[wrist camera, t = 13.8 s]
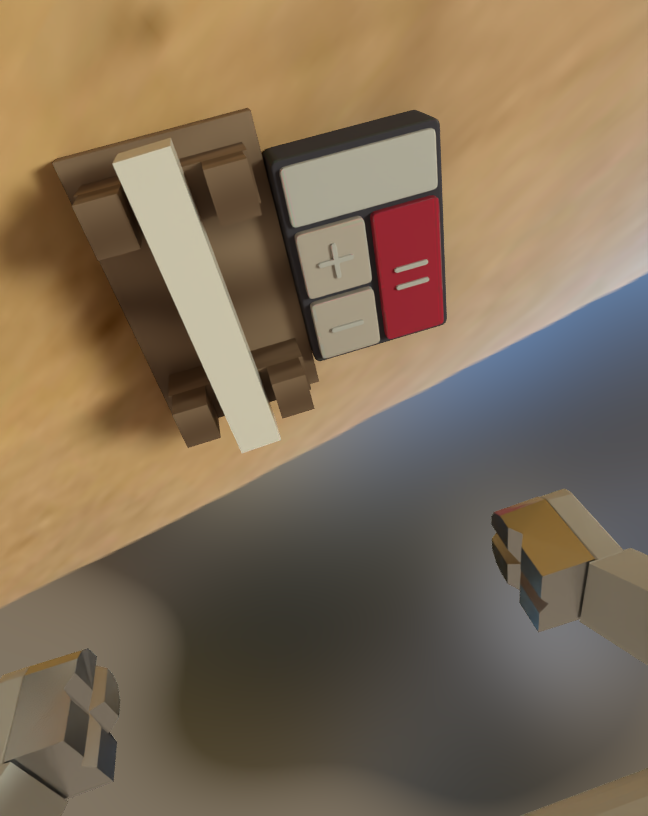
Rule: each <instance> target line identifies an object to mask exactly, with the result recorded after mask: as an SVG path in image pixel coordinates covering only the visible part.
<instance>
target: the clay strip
mask: <svg viewBox="0 0 648 816" xmlns="http://www.w3.org/2000/svg"><path fill="white" fill-rule="evenodd" d="M112 164H113V166H114V169H115V171H116V173H117V175H118V178H119V180H120V182H121V184H122V187H123V189H124V191H125V193H126V195H127V198H128V200H129V202H130V204H131V207H132V209H133V211H134V213H135V216H136V218H137V220H138V222H139V225H140V227H141V229H142V231H143V233H144V236H145V238H146V240H147V242H148V245H149V247H150V249H151V251H152V254H153V256H154V258H155V260H156V263H157V265H158V267H159V269H160V271H161V274H162V276H163V278H164V280H165V283H166V285H167V287H168V289H169V292H170V294H171V296H172V298H173V301H174V303H175V305H176V307H177V309H178V312H179V314H180V316H181V318H182V321H183V323H184V325H185V327H186V330H187V332H188V334H189V336H190V339H191V341H192V343H193V345H194V347H195V350H196V352H197V354H198V356H199V359H200V361H201V363H202V365H203V368H204V370H205V372H206V374H207V377H208V379H209V381H210V383H211V386H212V388H213V390H214V392H215V394H216V397H217V399H218V401H219V403H220V406H221V408H222V410H223V412H224V415H225V417H226V419H227V421H228V424H229V426H230V428H231V430H232V432H233V435H234V437H235V439H236V441H237V444H238V446H239V448H240V450H241V453H244V452H247V451H250V450H253V449H256V448H259V447H262V446H265V445H268V444H271V443H274V442H277V441H280V440H281V437H280V433H279V430H278V426H277V422H276V419H275V415H274V413H273V410H272V407H271V405H270V402H269V399H268V397H267V394H266V391H265V389H264V386H263V383H262V381H261V378H260V375H259V373H258V370H257V367H256V365H255V362H254V359H253V357H252V354H251V351H250V349H249V346H248V343H247V340H246V338H245V335H244V332H243V330H242V327H241V324H240V322H239V319H238V316H237V314H236V311H235V308H234V306H233V303H232V300H231V298H230V295H229V292H228V290H227V287H226V284H225V282H224V279H223V276H222V274H221V271H220V268H219V265H218V263H217V260H216V257H215V255H214V252H213V249H212V247H211V244H210V241H209V239H208V236H207V233H206V231H205V228H204V225H203V223H202V220H201V217H200V215H199V212H198V209H197V207H196V204H195V201H194V199H193V196H192V193H191V190H190V188H189V185H188V182H187V180H186V177H185V174H184V172H183V169H182V166H181V164H180V161H179V158H178V156H177V153H176V150H175V148H174V145H173V142H172V140H171V138H168V139H164V140H161V141H158V142H155V143H151V144H148V145H145V146H141V147H138V148H135V149H132V150H128V151H125V152H122V153H118V154H117V156H116V158H115V160H114V161H113V163H112Z"/></svg>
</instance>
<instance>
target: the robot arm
mask: <svg viewBox="0 0 648 816" xmlns="http://www.w3.org/2000/svg"><path fill="white" fill-rule="evenodd" d="M491 525H492V526H493V528H494V530H495V531H496V534H495V535H494V537H493V538H492V551H493V554H494V557H495V560H496V563H497V565H498V567H499V570H500V572H501V574H502V575H503V577H504V579H505V580H506V582H507V583H508V584H509V585H511V586H513V587H515V588H517V589H519V590H520V604H521V606H522V608H523V609H524V611H525V612H526V614H527V615H528V617H529V619H530V620H531V622H532V623H533V625H534V627H535V628H536V630H537V631H538V632H541V631H544V630H547V629H550V628H553V627H557V626H560V625H563V624H566V623H569V622H572V621H576V620H579V619H580V622H581V623H583V624H584V625H586V626H588V627H589V628H590V629H592V630H594V631H595V632H597V633H598V634H600V635H601V636H603V637H604V638H606V639H608V640H609V641H611V642H612V643H614V644H615V645H617V646H618V647H620V648H622V649H623V650H625V651H626V652H628V653H629V654H631V655H632V656H634V657H635V658H637V659H638V660H640V661H642V662H643V663H645V664H646V665H648V555H646V554H643V553H641V552H639V551H636V550H634V549H631V548H630V549H626V550H623V549H622V548H621V547H620V546H619V545H618V544H617V543H616V542H615V540H614V539H613V538H612V537H611V536H610V535H609V534H608V533H607V532H606V530H605V529H603V527H602V526H601V525H600V524H599V523H598V522H597V521H596V519H595V518H594V517H593V516H592V515H591V514H590V513H589V512H588V511H587V510H586V508H585V507H584V506H582V504H581V503H580V502H579V501H578V500H577V498H576V497H575V496H574V495H573V494H572V493H571V492H570V491H568V490H566V489H561V490H558V491H555V492H552V493H550V494H547V495H544V496H541V497H536V498H533V499H530V500H527V501H524V502H521V503H518V504H516V505H513V506H510V507H507V508H504V509H501V510H499V511H496V512H494V513H493V514H492V516H491ZM96 660H97V656H96V655H95V654H94V653H93V652H92V651H91V650H89V649H88V648H87V649H84V650H81V651H78V652H74V653H71V654H68V655H65V656H62V657H58V658H55V659H52V660H49V661H46V662H42V663H39V664H36V665H32V666H29V667H26V668H23V669H20V670H17V671H14V672H11V673H8V674H5V675H3V676H2V677H1V679H0V816H61V815H62V814H63V812H64V810H65V808H66V806H67V804H68V801H67V799H69V798H72V797H74V796H77V795H80V794H82V793H85V792H88V791H90V790H93V789H96V788H98V787H101V786H103V785H106V784H109V783H111V782H114V771H115V760H116V748H117V741H116V740H115V739H114V737H113V736H112V734H111V733H110V731H111V730H112V728H113V726H114V725H115V723H116V721H117V720H118V718H119V712H120V696H119V689H118V684H117V682H116V680H115V677H114V675H113V674H112V673H111V672H110V670H109V669H108V668H104V667H100V666H96ZM522 816H648V768H646V769H644V770H641V771H638V772H636V773H633V774H630V775H628V776H625V777H623V778H620V779H617V780H615V781H612V782H609V783H606V784H604V785H601V786H598V787H596V788H593V789H590V790H588V791H585V792H582V793H580V794H578V795H574V796H572V797H569V798H566V799H564V800H561V801H559V802H556V803H553V804H550V805H548V806H545V807H543V808H540V809H538V810H535V811H532V812H529V813H527V814H524V815H522Z"/></svg>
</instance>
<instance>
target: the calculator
mask: <svg viewBox="0 0 648 816" xmlns="http://www.w3.org/2000/svg"><path fill="white" fill-rule="evenodd" d="M263 162H264V166H265V170H266V174H267V178H268V182H269V185H270V189H271V193H272V197H273V201H274V205H275V209H276V213H277V217H278V221H279V225H280V229H281V233H282V237H283V241H284V245H285V249H286V253H287V257H288V261H289V265H290V269H291V273H292V277H293V280H294V284H295V288H296V292H297V296H298V300H299V304H300V308H301V312H302V316H303V320H304V324H305V328H306V332H307V336H308V340H309V344H310V348H311V350H312V353H313V355H314V357H315V359H316V360H318V361H322V360H326V359H329V358H333V357H336V356H339V355H343V354H346V353H349V352H353V351H356V350H359V349H363V348H366V347H370V346H373V345H376V344H380V343H383V342H386V341H390V340H393V339H396V338H400V337H403V336H407V335H410V334H413V333H417V332H420V331H423V330H427V329H430V328H433V327H437V326H440V325H443V324H444V323H445V322H446V320H447V312H446V285H445V257H444V230H443V202H442V175H441V147H440V124H439V121H438V120H437V119H436V118H434V117H431V116H429V115H427V114H424V113H422V112H419V111H417V110H411V111H407V112H403V113H400V114H396V115H392V116H388V117H384V118H381V119H377V120H373V121H369V122H365V123H362V124H358V125H354V126H350V127H346V128H343V129H339V130H335V131H331V132H328V133H324V134H320V135H316V136H312V137H309V138H305V139H301V140H297V141H293V142H290V143H286V144H282V145H278V146H275V147H271V148H268V149H266V150H264V152H263Z"/></svg>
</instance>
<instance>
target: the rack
mask: <svg viewBox="0 0 648 816" xmlns="http://www.w3.org/2000/svg"><path fill="white" fill-rule="evenodd" d="M168 138H171V140H172V142H173V145H174V148H175V150H176V153H177V156H178V158H179V161H180V164H181V166H182V169H183V172H184V174H185V177H186V180H187V182H188V185H189V188H190V190H191V193H192V196H193V199H194V201H195V204H196V207H197V209H198V212H199V215H200V217H201V220H202V223H203V225H204V228H205V231H206V233H207V236H208V239H209V241H210V244H211V247H212V249H213V252H214V255H215V257H216V260H217V263H218V265H219V268H220V271H221V274H222V276H223V279H224V282H225V284H226V287H227V290H228V292H229V295H230V298H231V300H232V303H233V306H234V308H235V311H236V314H237V316H238V319H239V322H240V324H241V327H242V330H243V332H244V335H245V338H246V340H247V343H248V346H249V349H250V351H251V354H252V357H253V359H254V362H255V365H256V367H257V370H258V373H259V375H260V378H261V381H262V383H263V386H264V389H265V391H266V394H267V397H268V399H269V402H271V401H275V400H277V403H278V406H279V409H280V412H281V416H282V419H283V418H286V417H289V416H292V415H296V414H299V413H302V412H305V411H309V410H312V409H314V405H313V402H312V398H311V394H310V391H309V390H311V387H310V384H312V383H315V382H318V381H319V379H318V375H317V371H316V368H315V364H314V360H313V356H312V352H311V348H310V344H309V340H308V336H307V332H306V328H305V324H304V320H303V316H302V312H301V308H300V304H299V300H298V296H297V292H296V288H295V284H294V280H293V277H292V273H291V269H290V265H289V261H288V257H287V253H286V249H285V245H284V241H283V237H282V233H281V229H280V225H279V221H278V217H277V213H276V209H275V205H274V201H273V197H272V193H271V189H270V185H269V182H268V178H267V174H266V170H265V166H264V162H263V158H262V154H261V150H260V146H259V142H258V138H257V134H256V130H255V126H254V122H253V118H252V114H251V110H250V109H248V108H245V109H242V110H238V111H234V112H230V113H227V114H223V115H219V116H215V117H212V118H208V119H204V120H200V121H197V122H193V123H189V124H185V125H182V126H178V127H174V128H170V129H166V130H163V131H159V132H155V133H151V134H148V135H144V136H140V137H136V138H133V139H129V140H125V141H121V142H118V143H114V144H110V145H106V146H103V147H99V148H95V149H91V150H88V151H84V152H80V153H76V154H72V155H69V156H65V157H61V158H57V159H56V160H55V161H54V162H53V163H52V164H53V166H54V168H55V170H56V172H57V175H58V177H59V179H60V181H61V183H62V185H63V187H64V189H65V191H66V193H67V195H68V197H69V200H70V202H71V204H72V208H73V210H74V212H75V214H76V216H77V218H78V220H79V222H80V224H81V227H82V229H83V231H84V233H85V235H86V237H87V239H88V241H89V243H90V245H91V247H92V249H93V252H94V254H95V256H96V258H97V260H98V261H99V262H100V264H101V266H102V268H103V270H104V273H105V275H106V277H107V279H108V281H109V283H110V285H111V287H112V289H113V291H114V293H115V295H116V298H117V300H118V302H119V304H120V306H121V308H122V310H123V312H124V314H125V316H126V318H127V320H128V323H129V325H130V327H131V329H132V331H133V333H134V335H135V337H136V339H137V341H138V343H139V345H140V348H141V350H142V352H143V354H144V356H145V358H146V360H147V362H148V364H149V366H150V368H151V371H152V373H153V375H154V377H155V379H156V381H157V383H158V385H159V387H160V389H161V391H162V393H163V396H164V398H165V400H166V402H167V404H168V406H169V408H170V410H171V412H172V416H173V418H174V420H175V422H176V424H177V426H178V428H179V430H180V433H181V435H182V437H183V439H184V441H185V443H186V445H187V447H188V448H189V447H192V446H195V445H199V444H202V443H205V442H208V441H212V440H215V439H218V438H221V437H220V429H219V420H218V418H219V417H222V416H225V415H224V412H223V410H222V408H221V406H220V403H219V401H218V399H217V397H216V394H215V392H214V390H213V388H212V386H211V383H210V381H209V379H208V377H207V374H206V372H205V370H204V368H203V365H202V363H201V361H200V359H199V356H198V354H197V352H196V350H195V347H194V345H193V343H192V341H191V339H190V336H189V334H188V332H187V330H186V327H185V325H184V323H183V321H182V318H181V316H180V314H179V312H178V309H177V307H176V305H175V303H174V301H173V298H172V296H171V294H170V292H169V289H168V287H167V285H166V283H165V280H164V278H163V276H162V274H161V271H160V269H159V267H158V265H157V263H156V260H155V258H154V256H153V254H152V251H151V249H150V247H149V245H148V242H147V240H146V238H145V236H144V233H143V231H142V229H141V227H140V225H139V222H138V220H137V218H136V216H135V213H134V211H133V209H132V207H131V204H130V202H129V200H128V198H127V195H126V193H125V191H124V189H123V187H122V184H121V182H120V180H119V178H118V175H117V173H116V171H115V169H114V166H113V164H112V163H113V161H114V160H115V158H116V156H117V154H118V153H122V152H125V151H128V150H132V149H135V148H138V147H141V146H145V145H148V144H151V143H155V142H158V141H161V140H164V139H168Z"/></svg>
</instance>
